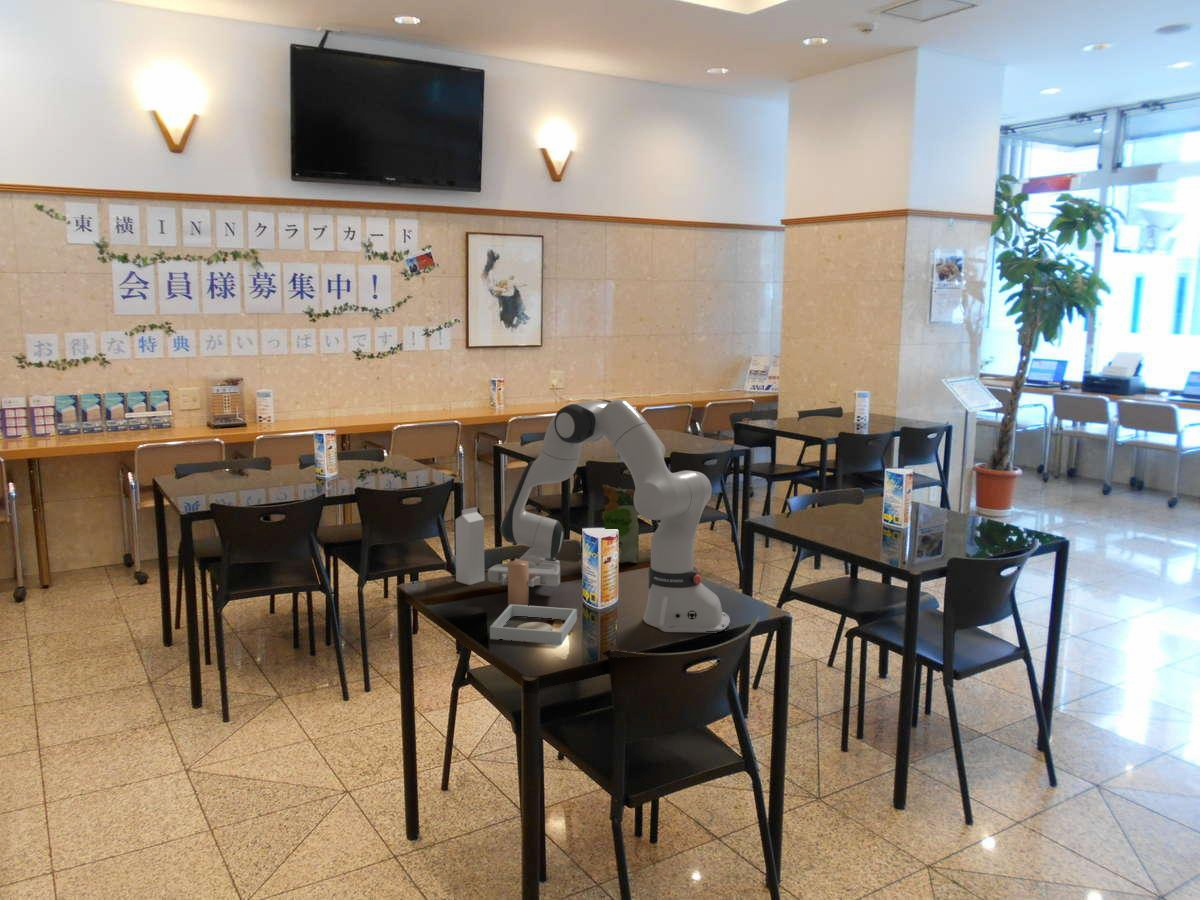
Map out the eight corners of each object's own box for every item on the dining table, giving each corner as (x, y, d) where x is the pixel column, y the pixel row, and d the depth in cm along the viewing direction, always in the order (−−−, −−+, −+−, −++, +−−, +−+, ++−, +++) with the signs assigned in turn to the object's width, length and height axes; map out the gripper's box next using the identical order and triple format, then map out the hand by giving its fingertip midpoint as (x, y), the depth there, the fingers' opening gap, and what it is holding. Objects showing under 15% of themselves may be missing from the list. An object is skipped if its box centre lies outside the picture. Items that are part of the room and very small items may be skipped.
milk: (484, 581, 275) (484, 508, 272) (469, 585, 270) (469, 511, 267) (470, 576, 279) (470, 505, 275) (455, 581, 274) (455, 508, 271)
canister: (530, 603, 255) (530, 561, 253) (525, 609, 249) (525, 566, 247) (511, 601, 256) (511, 559, 254) (505, 608, 250) (505, 565, 248)
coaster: (556, 624, 238) (556, 623, 238) (547, 636, 229) (547, 635, 229) (522, 622, 240) (522, 620, 240) (512, 633, 231) (512, 632, 231)
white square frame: (576, 620, 242) (576, 609, 241) (561, 644, 224) (561, 632, 224) (510, 615, 245) (510, 604, 244) (489, 638, 227) (489, 627, 227)
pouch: (639, 567, 291) (640, 489, 287) (601, 567, 291) (602, 489, 287) (637, 557, 302) (638, 482, 298) (600, 557, 302) (601, 482, 298)
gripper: (495, 556, 265) (480, 569, 252) (564, 560, 262) (553, 574, 248) (495, 577, 266) (480, 591, 253) (564, 582, 263) (553, 596, 249)
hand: (517, 583), depth 251 cm, fingers closed on canister, 6 cm apart
